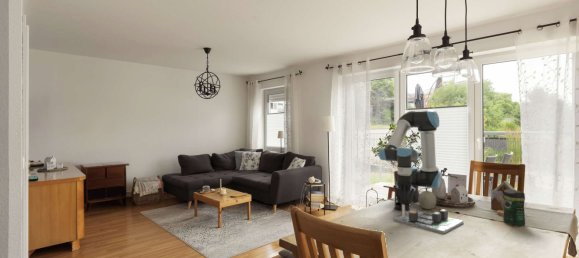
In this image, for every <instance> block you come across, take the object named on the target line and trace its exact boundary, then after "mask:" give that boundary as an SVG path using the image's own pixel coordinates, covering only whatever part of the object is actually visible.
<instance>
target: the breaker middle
mask: <svg viewBox="0 0 579 258" xmlns="http://www.w3.org/2000/svg"><path fill="white" fill-rule="evenodd" d="M431 214H432V221H434V222H440V221H441V213H439V211H435V212H432V213H431Z"/></svg>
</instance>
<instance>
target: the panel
mask: <svg viewBox="0 0 579 258" xmlns="http://www.w3.org/2000/svg"><path fill="white" fill-rule="evenodd" d="M412 211H415V212H418V220H416V221H410V220H409V213H410V212H412ZM432 214H433V213H429V212H428V211H427V212H426V211H422V210H417V209H413V210H409V212H408V211H407V216H405V217H404V216H402V214H400V215H398V216H394V217H393V221H394V220H395V222H397V221H399V222H398V223H401V222H403V223H402V224H405V223H407V224H406V225H409V224H410V225H409V226H412V225H414V226H413V227H416V226H417V227H416V228H420V227H421V228H420V229H423V228H424V230H427V229H428V231H430V232H431V231H432V232H435V233H438V234H441V235H445V234H446V233H449V232H450V231H452V230H454V229H456V228H458V227H460V226H462V225H464V220H461V219H458V218H452V217H449V216H448V218H446V219H441V221H440V222H434V221H432Z"/></svg>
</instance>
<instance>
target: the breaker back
mask: <svg viewBox="0 0 579 258" xmlns="http://www.w3.org/2000/svg"><path fill="white" fill-rule="evenodd" d="M438 212H439V213H441V219H446V218H448V217H449V211H448V210H447V209H443V208H442V209H440V210H438Z"/></svg>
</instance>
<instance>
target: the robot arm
mask: <svg viewBox="0 0 579 258" xmlns="http://www.w3.org/2000/svg"><path fill="white" fill-rule="evenodd" d="M395 126H396V127H395V129H394V131H393V133H392V135H391V137H390V138H389V141H388V142H387V145H386V146H385V147H382V148H380V149H379V150H378V157H379V159H380V160H381V161H386V162H387V161H388V162H396V163H397V170H396V171H397V176H396V177H397V178H396V179H397V181H396V182H397V184H396V185H395V184H393V189H394V193H395V192H396V198H397V200H396V202H399V203H400V204H401V210H402V211H401V215H402V216H404V217H405V216H407V213H408V211H407V210H408V205H409V206H410V205H412V203H419V200H418V198H419V195H420V191H419V187H422V188H427V189H439V188H440V186H441V184H442V177H443V175H442V174H443V173H442V171H439V168H438V166H436V165H437V163H436V162H437V160H436V158H437V157H436V143H435V140H436V139H435V132H436V131H437V128H439V127H440V117H439V114H438V112H437V111H436V110H433V109H423V110H421V109H420V110H410V111H407V112H405V113H404V114H402V116H400V117H399V118H398V119H397V122H396V125H395ZM412 128H413V129H414V128H416V129H417V131H418V132H419V133H420V148H421V164H422V165H421V167H420V168H418V167H416V166H415V167H412V163H414V162H416V161H417V160H418V159H419V155H420V154H419V152H418V151H417V150H416V149H414V148H411V147H408V146H401V145H402V143H403V141H404V139H405V137H406V135H407V133H408V131H410V130H411V129H412ZM399 189H400V191H399ZM418 191H419V192H418ZM404 203H405V204H404Z"/></svg>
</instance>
